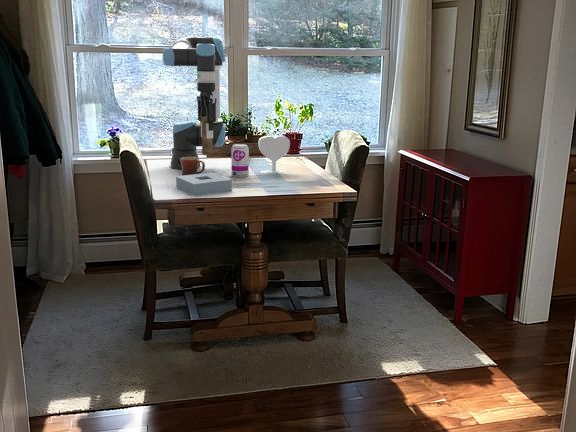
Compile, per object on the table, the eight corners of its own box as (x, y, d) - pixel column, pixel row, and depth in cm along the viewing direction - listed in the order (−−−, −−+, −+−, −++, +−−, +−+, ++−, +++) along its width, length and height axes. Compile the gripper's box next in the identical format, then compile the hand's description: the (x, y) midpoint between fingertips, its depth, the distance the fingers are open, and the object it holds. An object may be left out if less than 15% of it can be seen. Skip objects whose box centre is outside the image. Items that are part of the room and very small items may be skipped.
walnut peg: (200, 153, 266) (199, 116, 262) (209, 152, 269) (208, 115, 265) (205, 155, 263) (204, 117, 259) (214, 154, 265) (213, 116, 261)
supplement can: (246, 178, 293) (246, 146, 289) (229, 177, 295) (229, 146, 291) (250, 174, 301) (250, 144, 297) (234, 173, 303) (234, 143, 299)
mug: (177, 181, 284) (176, 159, 282) (186, 177, 292) (185, 156, 290) (200, 183, 281) (200, 161, 278) (208, 179, 289) (208, 158, 286)
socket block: (176, 187, 272) (175, 176, 270) (212, 183, 281) (212, 172, 280) (194, 195, 257) (193, 184, 256) (231, 190, 267) (231, 179, 266)
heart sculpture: (287, 170, 314) (288, 135, 309) (289, 172, 309) (290, 136, 304) (257, 171, 310) (257, 135, 305) (259, 173, 306) (259, 136, 301)
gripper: (188, 80, 263) (190, 135, 269) (207, 83, 249) (208, 140, 255) (204, 80, 267) (205, 134, 273) (224, 82, 253) (224, 139, 259)
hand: (207, 137), depth 264 cm, fingers closed on walnut peg, 4 cm apart
